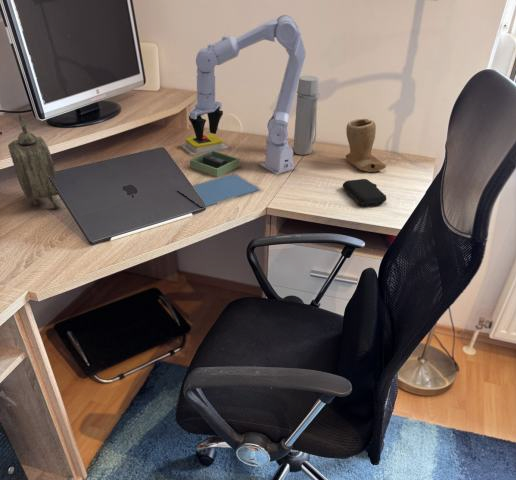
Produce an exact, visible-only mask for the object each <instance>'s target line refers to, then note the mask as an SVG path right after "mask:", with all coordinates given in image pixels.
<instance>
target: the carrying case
mask: <svg viewBox="0 0 516 480" xmlns="http://www.w3.org/2000/svg"><path fill="white" fill-rule="evenodd" d="M342 188H343V190H344V191H345V192H346V193H347V194H348V195H349V196H350V197H351V198H352V199H353V200H354V201H355V202H356V203H357V204H358V205H359V206H361V207H367V206H375V205H382V204H384V203H385V202H386V201H387V195H386V194H385V193H383V192H382V191H381V190H380V188H378V187H377V184H376V183H373V182H372V181H370V180H369V179H367V178H359V179H351V180H350V179H349V180H345V182H343V183H342Z"/></svg>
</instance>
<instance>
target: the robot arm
mask: <svg viewBox="0 0 516 480" xmlns="http://www.w3.org/2000/svg"><path fill="white" fill-rule="evenodd" d="M275 38H276V40H277V43H279V44H280V45H281V46H282V47H283V48H284V49H285V52H286V53H287V54H288V59H287V63H286V67H285V71H284V74H283V78H282V83H281V86H280V90H279V94H278V96H277V97H278V98H277V100H276V105H275V108H274V110H273V113H272V116H271V117H270V118H269V119H268V121H267V131H268V135H267V137H266V139H265V160H264V161H265V162H262V163H259V166H261V167H263V168H264V169H266V170H268V171H270V172H272V173H274V174H276V175H278V174H279V175H280V174H283V173H286V172H289V171H293V170H295V168H294V166H293V164H294V163H293V162H294V151H293V148H292V146H291V145H289V142H288V137H289V135H288V134H289V133H288V125H289V118H290V112H291V110H292V105H293V103H294V99H295V95H296V93H297V89H298V83H299V77H301V74H302V70H303V67H304V63H305V60H306V56H307V55H306V49H305V45H304V42H303V41H304V40H303V37H302V34H301V31H300V29H299V26H298V25H297V23H296V22H295V20H294V19H293V18H292V16H290V15H288V14H283V15H279V17H278V18H277V17H274V18H272V19H269V20H266V22H263V23H262V24H259V25H257V26H256V27H254V28H252V29H250V30H248V31H247V32H245V33H243V34H241V35H239V36H238V37H233V36H231V35H229V36H227V35H223V36H222V37H221V40H218V41H216V42H214V43H213V44H211V43H209V44H207V46H206V47H202V48H200V49H199V50H198V51H197V53H196V57H195V64H196V67H197V68H196V74H197V75H196V104H194V108H193V109H192V110H190V111H189V115H188V120H189V121H190V123H191V126H192V127H193V131H194V135H195V136H196V139H198V140H203V135H204V130H205V125H206V122H207V119H208V129H209V134H213V135H216V134H217V131H218V127H219V124H220V121H221V119H222V117H223V115H224V111H223V110H222V104H223V103H222V102H220V101H216V76H215V68H216V66H220V65H222V64H224V63H227V62H229V61H231V60H234V59H235V58H238V56H239V53H240V51H241V50H243V49H245V48H248V47H250V46H253V45H254V44H257V43H259V42H262V41H264V40H266V41H269V42H273V43H275V42H276V41H275ZM204 115H207V119H205V118H203V117H202V116H204Z"/></svg>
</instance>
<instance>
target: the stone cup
mask: <svg viewBox="0 0 516 480" xmlns="http://www.w3.org/2000/svg"><path fill="white" fill-rule="evenodd" d="M345 128H346V133H345V134H346V138H347V142H348V146H349V153H347V154H345V156H344V157H345V159H346V161H347V162H349V164H351V165H353V166H355V168H357V169H359V170H361V171H364V172H367V173H375V172H378V171H382V170H384V169H386V168H387V165H386V163H384V162H382V161H381V159H378V158H377V157H376V156H374V155H372V150H373V146H374V143H375V142H374V141H375V139H376V133H377V131H376V130H377V129H376V128H377V126H376V122H375V121H374V120H370V119H369V118H357V119H353V120H351V121H349V122H348V123H347V125H346V127H345Z"/></svg>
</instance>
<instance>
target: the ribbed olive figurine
mask: <svg viewBox="0 0 516 480" xmlns="http://www.w3.org/2000/svg"><path fill="white" fill-rule="evenodd" d="M18 120H19V123H20V126H21V130H22V132H21V133H19V135H18V137H17V139H15V140H12V141H11V142H10V143H9V144H7V148H8V150H9V154H10V157H11V161H12V164H13V167H14V170H15V174H16V177H17V180H18V184H19V186H20V188H21V190H22V192H23V194H24V197H26V198H28V199H31V200H33V203H32V204H33V205H35V206H38V205H40V201H39V199H44V198H46V199H48V200H50V202H51V203H52V204H53V208H54V209H56V210H58V209H59V208H60V204H59V203H57V202H56V201H55V200H54V199H53V197H54V196H58V193H57V192H56V190H55V188H54V186H53V185H52V183H51V182H50V179H49V176H50V178H51V177H52V178H57V179H58V176H57V173H56V169H55V164H54V162H53V158H52V154H51V151H50V148H49V146H48V144H47V143H46V142H45V139H43V137H42V136H40V135H39V136H37V135H35V134H34V133H33V132H31V131H28V128H27V125H26V122H25V119H24V117H23V115H22V114H21V113H19V114H18Z"/></svg>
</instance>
